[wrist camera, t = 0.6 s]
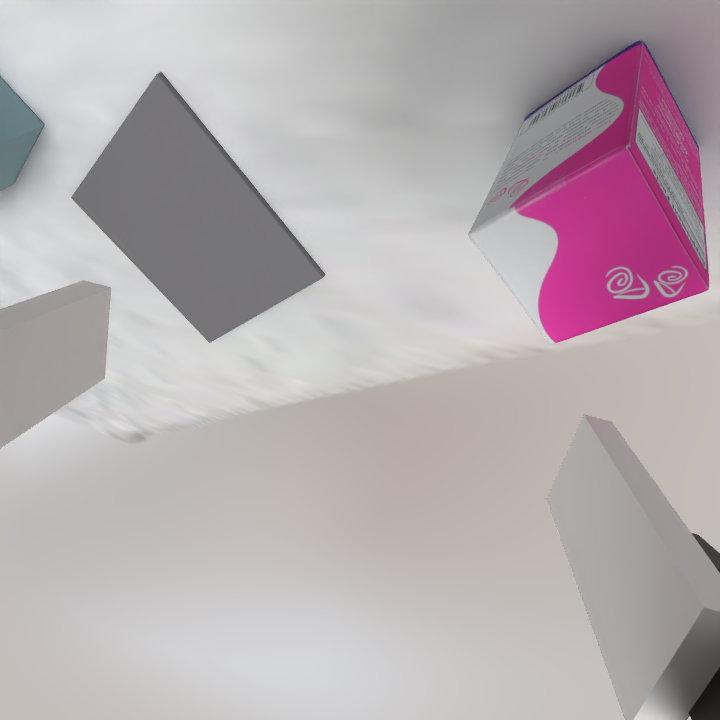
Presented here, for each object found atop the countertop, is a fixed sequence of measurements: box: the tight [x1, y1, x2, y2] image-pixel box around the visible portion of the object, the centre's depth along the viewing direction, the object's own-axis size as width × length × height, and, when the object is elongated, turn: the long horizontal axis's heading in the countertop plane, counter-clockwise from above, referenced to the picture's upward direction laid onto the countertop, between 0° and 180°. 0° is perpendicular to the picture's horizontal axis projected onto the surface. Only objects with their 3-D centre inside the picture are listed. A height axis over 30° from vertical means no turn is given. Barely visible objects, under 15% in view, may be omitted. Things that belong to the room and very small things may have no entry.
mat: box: [71, 73, 325, 343], centre depth 41 cm, size 16×16×1 cm
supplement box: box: [469, 41, 709, 344], centre depth 22 cm, size 6×6×12 cm
